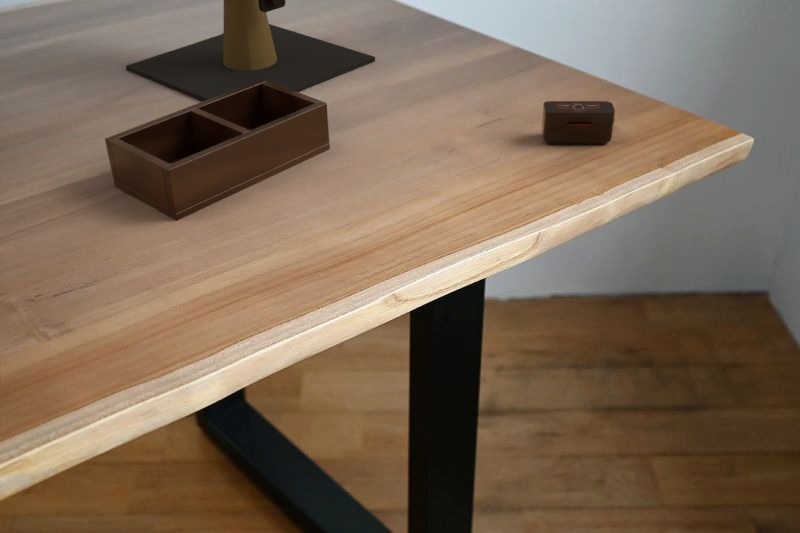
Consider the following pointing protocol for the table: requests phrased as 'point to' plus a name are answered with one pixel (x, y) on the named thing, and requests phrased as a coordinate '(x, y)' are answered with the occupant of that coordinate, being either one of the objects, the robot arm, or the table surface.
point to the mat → (209, 77)
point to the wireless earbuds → (577, 121)
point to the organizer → (217, 147)
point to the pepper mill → (247, 36)
